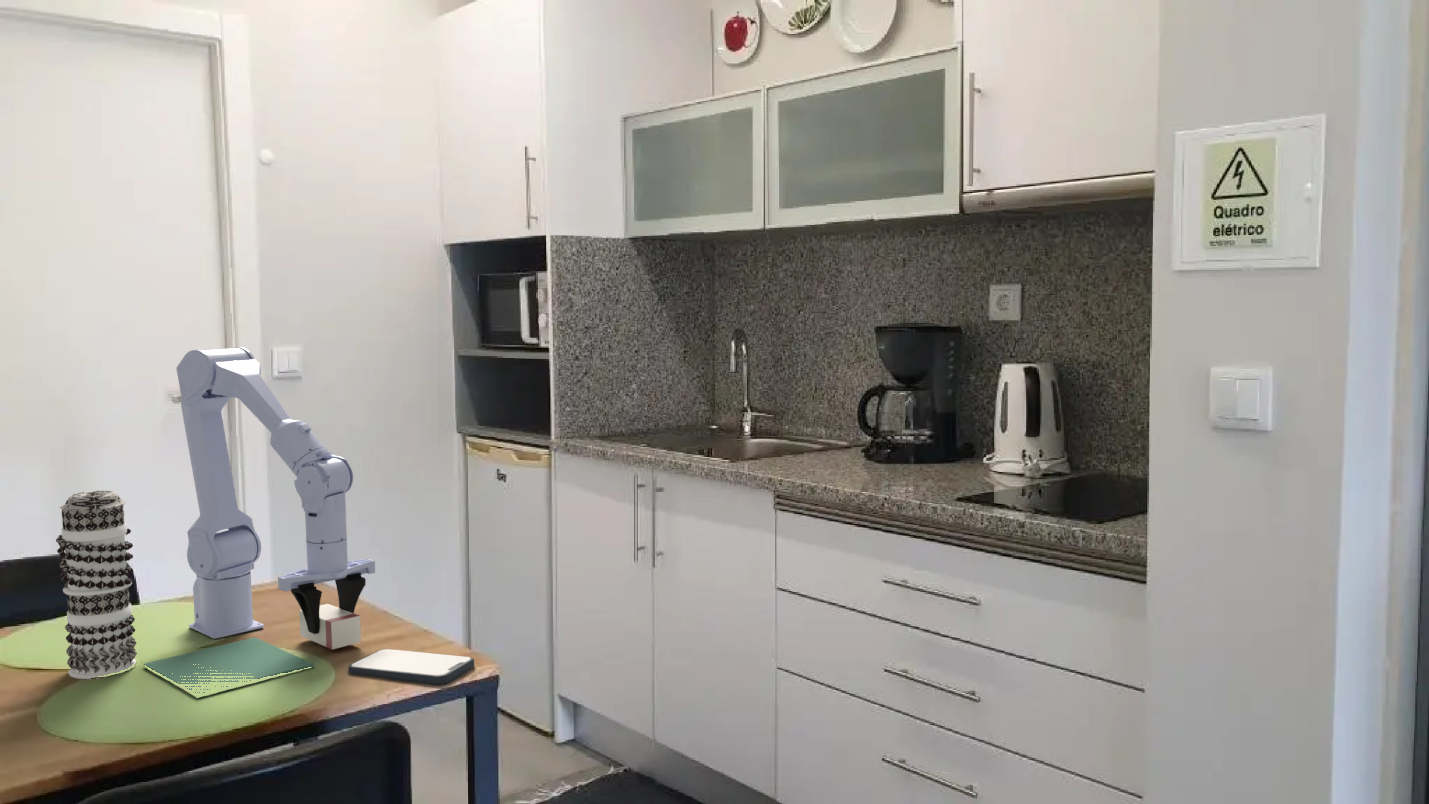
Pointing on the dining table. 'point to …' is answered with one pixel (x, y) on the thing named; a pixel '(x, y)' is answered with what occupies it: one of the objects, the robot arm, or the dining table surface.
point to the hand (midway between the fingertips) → (330, 628)
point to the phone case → (412, 666)
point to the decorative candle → (96, 584)
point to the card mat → (229, 662)
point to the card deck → (333, 627)
